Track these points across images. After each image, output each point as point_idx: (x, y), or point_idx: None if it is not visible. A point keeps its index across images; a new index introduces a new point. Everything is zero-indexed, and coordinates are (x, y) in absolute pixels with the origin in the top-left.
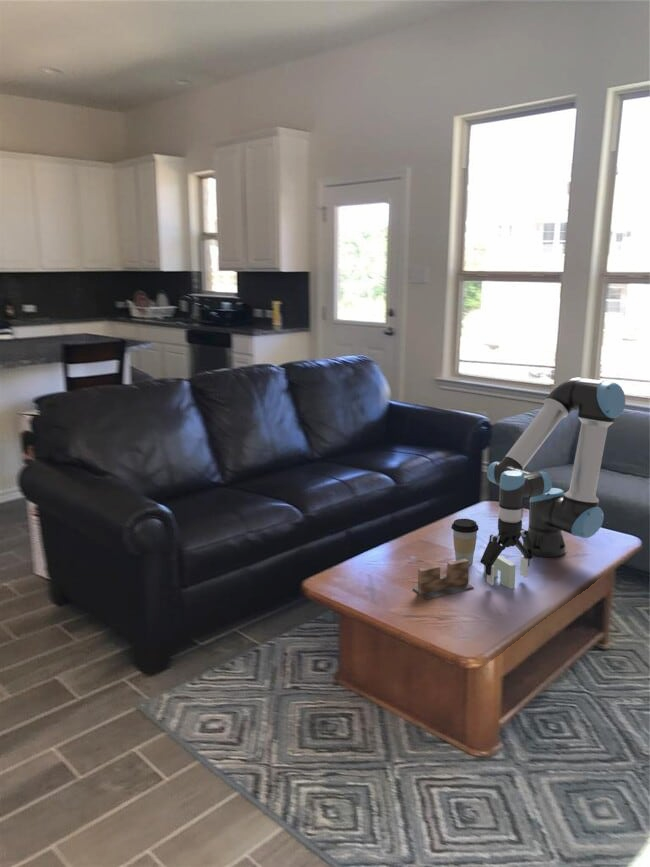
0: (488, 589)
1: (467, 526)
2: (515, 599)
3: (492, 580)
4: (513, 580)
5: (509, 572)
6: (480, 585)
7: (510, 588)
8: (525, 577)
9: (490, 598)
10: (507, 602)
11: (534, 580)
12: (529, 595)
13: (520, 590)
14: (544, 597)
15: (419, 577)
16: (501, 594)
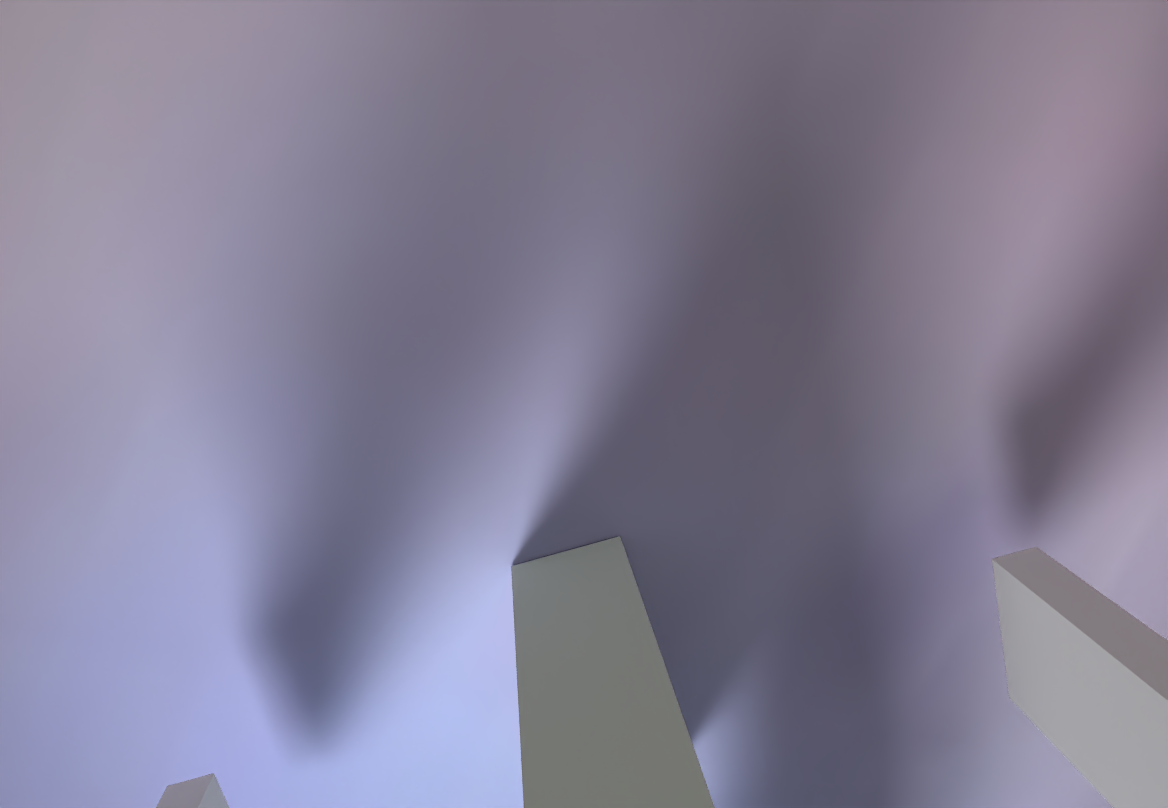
0: (980, 565)
1: None
2: (706, 101)
3: (1083, 601)
4: (556, 631)
5: (697, 761)
6: None
7: (600, 542)
8: (210, 776)
9: (1122, 240)
10: (914, 10)
11: (29, 770)
12: (357, 210)
13: (450, 442)
14: (64, 54)
15: None
16: (862, 352)
